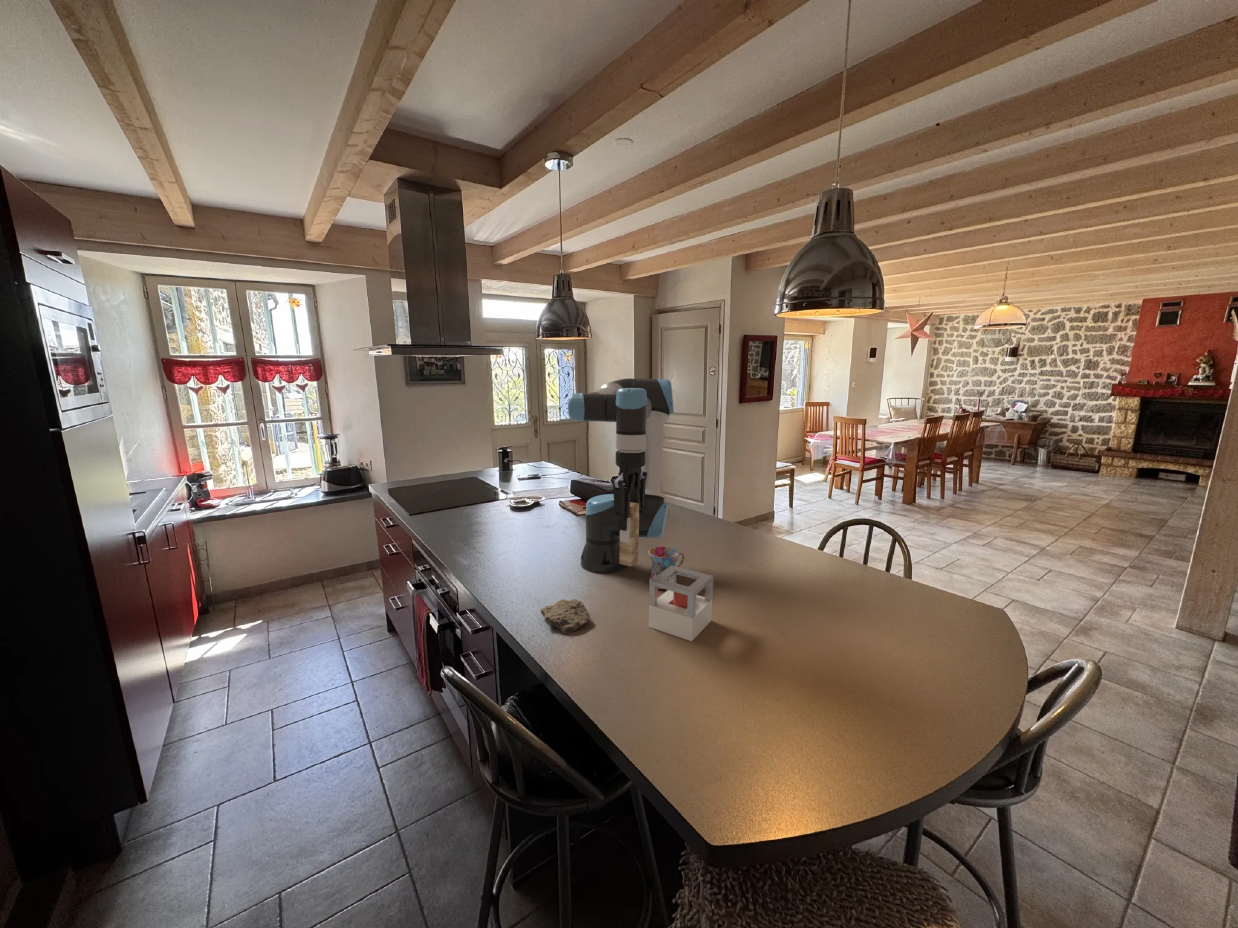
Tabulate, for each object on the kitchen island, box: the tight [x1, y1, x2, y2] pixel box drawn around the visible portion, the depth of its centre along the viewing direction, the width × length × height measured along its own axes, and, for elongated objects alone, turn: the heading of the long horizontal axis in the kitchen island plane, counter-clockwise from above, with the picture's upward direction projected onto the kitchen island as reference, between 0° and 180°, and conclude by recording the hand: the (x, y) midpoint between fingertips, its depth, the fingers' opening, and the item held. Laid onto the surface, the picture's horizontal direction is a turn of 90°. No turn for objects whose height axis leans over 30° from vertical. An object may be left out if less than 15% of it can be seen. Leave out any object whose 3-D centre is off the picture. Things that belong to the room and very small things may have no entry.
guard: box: [648, 565, 714, 618], centre depth 125 cm, size 12×12×6 cm
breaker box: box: [648, 590, 713, 642], centre depth 126 cm, size 12×12×6 cm
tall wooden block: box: [620, 502, 639, 567], centre depth 127 cm, size 4×4×16 cm
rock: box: [540, 598, 591, 635], centre depth 127 cm, size 11×12×4 cm
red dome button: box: [673, 592, 688, 609], centre depth 126 cm, size 4×4×8 cm
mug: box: [647, 546, 685, 590], centre depth 149 cm, size 12×9×11 cm
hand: (629, 539), depth 128 cm, fingers closed on tall wooden block, 3 cm apart
